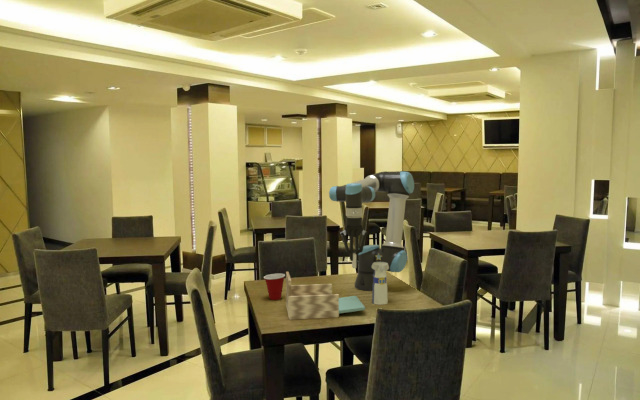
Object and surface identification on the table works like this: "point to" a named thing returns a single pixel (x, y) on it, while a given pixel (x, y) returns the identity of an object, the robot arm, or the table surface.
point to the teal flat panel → (350, 304)
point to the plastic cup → (274, 285)
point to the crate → (310, 301)
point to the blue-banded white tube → (379, 282)
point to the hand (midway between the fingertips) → (354, 267)
